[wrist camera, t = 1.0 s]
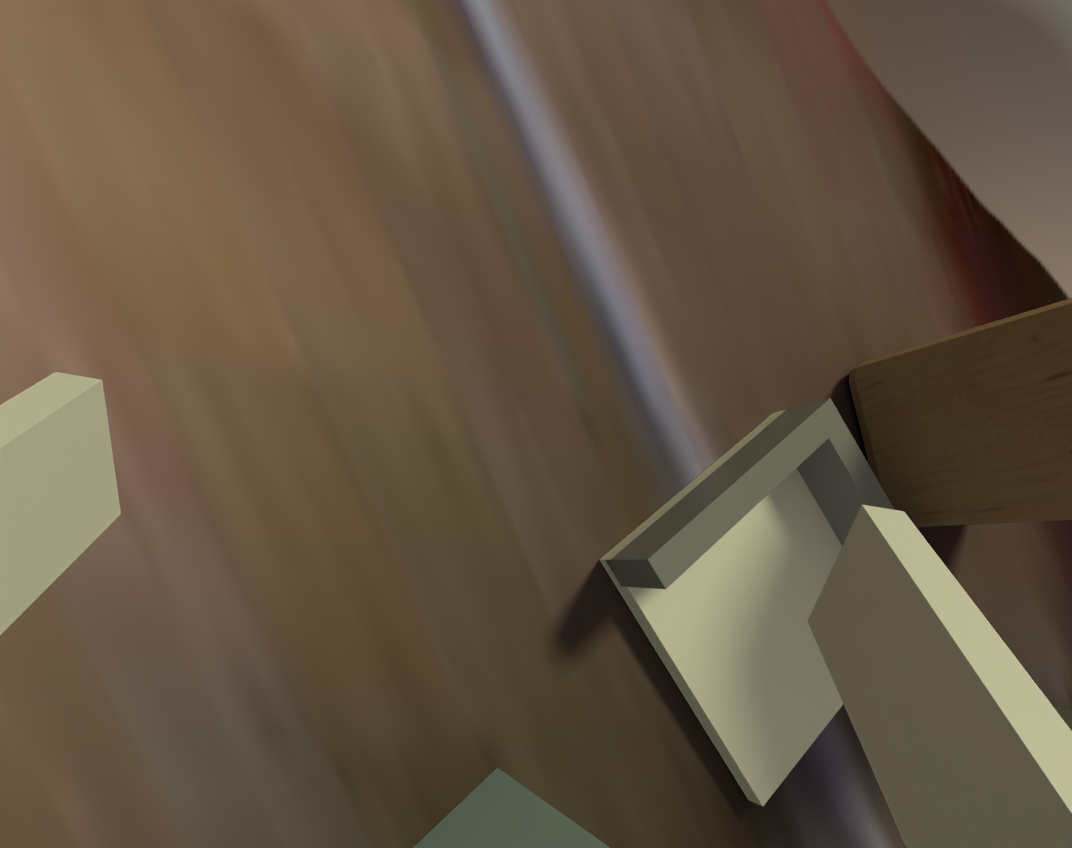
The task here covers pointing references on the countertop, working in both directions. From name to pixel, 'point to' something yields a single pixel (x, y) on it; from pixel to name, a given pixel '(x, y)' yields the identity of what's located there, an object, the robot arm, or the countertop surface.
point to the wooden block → (974, 422)
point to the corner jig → (751, 586)
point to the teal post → (506, 821)
